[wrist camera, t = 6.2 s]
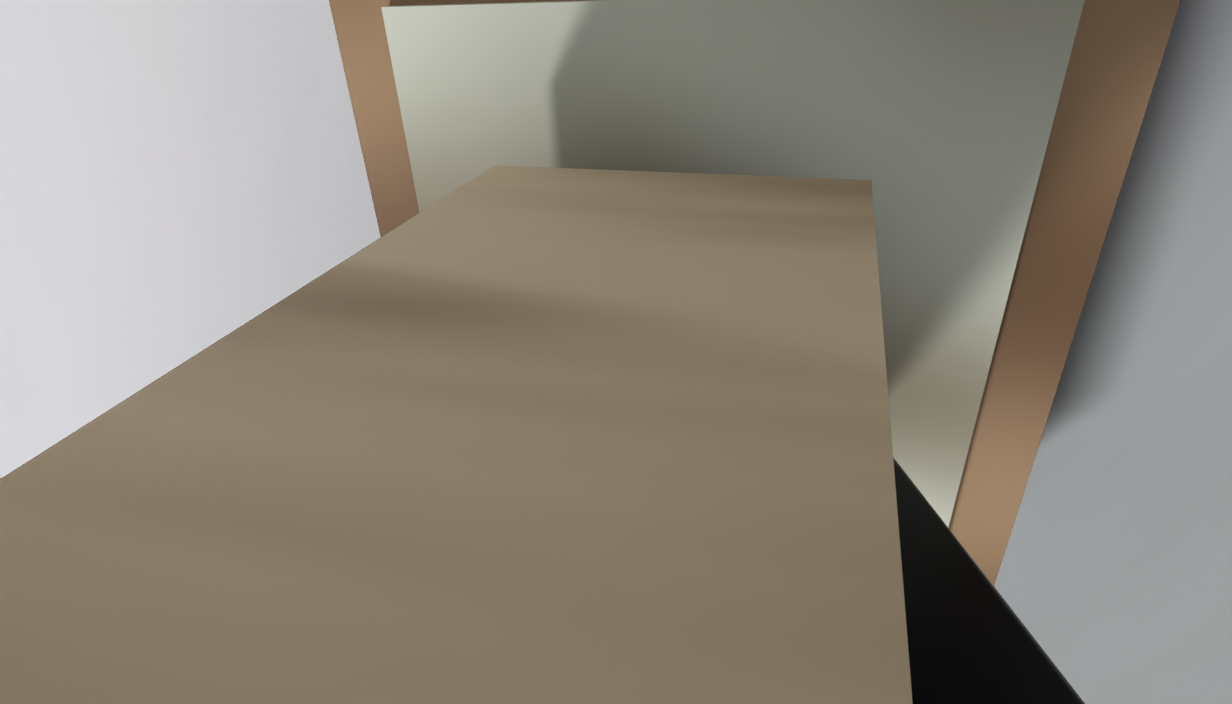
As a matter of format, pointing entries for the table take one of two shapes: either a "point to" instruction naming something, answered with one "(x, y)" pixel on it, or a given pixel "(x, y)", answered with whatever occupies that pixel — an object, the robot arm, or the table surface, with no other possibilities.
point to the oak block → (498, 471)
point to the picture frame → (818, 163)
